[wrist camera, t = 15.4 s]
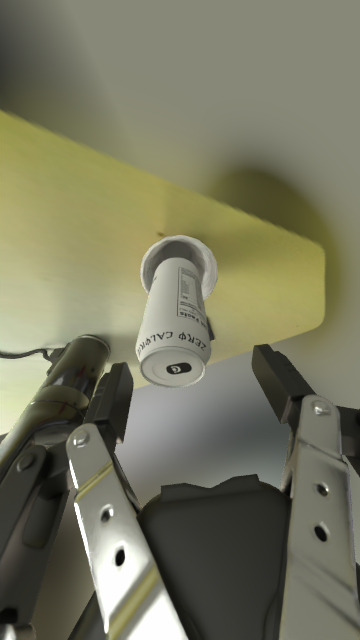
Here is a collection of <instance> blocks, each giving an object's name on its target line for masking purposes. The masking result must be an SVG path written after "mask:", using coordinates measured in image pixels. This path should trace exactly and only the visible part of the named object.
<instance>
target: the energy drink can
mask: <svg viewBox="0 0 360 640" xmlns="http://www.w3.org/2000/svg"><path fill="white" fill-rule="evenodd" d="M136 354H137V357H138V359H139V361H140V368H139V369H140V373H141V374H142V376H143V377H144V378H145V379H146V380H147V381H149V382H150V383H152V384H154V385H157V386H160V387H165V388H183V387H187V386H191V385H193V384H195V383H197V382H198V381H200V380H201V379H202V378H203V376H204V374H205V371H206V366H205V365H206V364H207V362H208V360H209V358H210V355H211V344H210V338H209V332H208V325H207V319H206V313H205V307H204V300H203V294H202V288H201V281H200V275H199V272H198V269H197V268H196V266H195V265H194V264H193V263H192V262H190V261H188V260H186V259H184V258H170V259H167V260H165V261H163V262H162V263H161V264H160V265H159V266H158V267H157V269H156V271H155V274H154V278H153V282H152V286H151V290H150V293H149V297H148V301H147V305H146V309H145V312H144V316H143V320H142V324H141V328H140V332H139V335H138V339H137V343H136Z"/></svg>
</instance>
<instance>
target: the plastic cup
mask: <svg viewBox="0 0 360 640" xmlns="http://www.w3.org/2000/svg"><path fill="white" fill-rule="evenodd" d="M170 258H184V259H186V260H188V261H190V262H192V263H193V264H194V265H195V266H196V268H197V269H198V272H199V275H200V281H201V288H202V294H203V300H205V299H206V298H207V297H208V296H209V295H210V294H211V293H212V292H213V289H214V287H215V284H216V282H217V280H218V264H217V262H216V260H215V258H214V255H213V253H212V251H211V250H210V249H209V248H208V247H207V246H206V245H204V244H203V243H202V242H201V241H200V240H198V239H195V238H191V237H188V236H185V235H178V236H170V237H165V238H163V239H162V240H160V241H158V242H157V243H155V244H154V245H152V246H151V247H150V248H149V250H148V251H147V253H146V254H145V256H144V257H143V259H142V264H141V270H140V277H141V281H142V285H143V288H144V290H145V291H146V292H147V294H148V295H149V293H150V290H151V286H152V282H153V278H154V274H155V271H156V269H157V267H158V266H159V265H160V264H161V263H162V262H163V261H165V260H167V259H170Z"/></svg>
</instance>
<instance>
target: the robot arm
mask: <svg viewBox="0 0 360 640" xmlns="http://www.w3.org/2000/svg"><path fill="white" fill-rule="evenodd" d="M38 352H41V353H43V357H44V358H45V359H46V360H48V361H51V363H52V366H51V367H50V368H49V370H48V371H47V373H46V374H47V376H48V377H47V379H46V380H45V382H44V383H43V384H42V386H41V387H40V389H39V390H38V392H37V393H36V395H35V396H34V397H33V399H32V400H31V402H30V403H29V405H28V406H27V407H26V409H25V410H24V411H23V413H22V414H21V416H20V417H19V419H18V420H17V422H16V423H15V425H14V426H13V427H12V429H11V430H10V432H9V433H8V435H7V436H6V437H5V439H4V440H3V442H2V443H1V444H0V640H36V633H35V629H34V627H33V626H32V624H30V623H31V619H32V616H33V613H34V609H35V606H36V603H37V599H38V596H39V593H40V589H41V586H42V582H43V579H44V576H45V572H46V569H47V566H48V563H49V559H50V556H51V552H52V549H53V546H54V542H55V539H56V536H57V532H58V529H59V526H60V522H61V519H62V516H63V512H64V509H65V505H66V502H67V499H68V495H69V492H70V489H71V488H73V487H75V486H76V490H77V494H76V496H75V498H74V503H75V508H76V512H77V516H78V520H79V524H80V528H81V532H82V537H83V541H84V545H85V549H86V552H87V557H88V561H89V565H90V569H91V573H92V577H93V581H94V585H95V589H96V590H95V591H94V593H93V595H92V597H91V599H90V600H89V602H88V604H87V606H86V607H85V610H84V611H83V613H82V615H81V616H80V618H79V620H78V622H77V624H76V625H75V627H74V629H73V631H72V632H71V634H70V636H69V638H68V640H360V565H359V564H358V563H356V562H355V550H354V534H353V520H352V505H351V490H350V475H349V468H348V465H347V463H346V462H344V461H343V459H342V455H345V456H346V457H347V459H348V460H349V462H350V463H351V465H352V466H353V468H354V469H355V471H356V472H357V474H358V475H359V477H360V409H359V410H358V409H352V408H346V407H340V406H336V405H334V404H333V403H332V402H331V401H329V400H328V399H326V398H324V397H322V396H319V395H317V394H316V393H315V392H314V391H313V390H312V388H311V387H310V386H309V385H308V383H307V382H306V381H305V380H304V378H303V377H302V376H301V375H300V373H299V372H298V371H297V370H296V368H295V367H294V366H293V365H292V363H291V362H290V361H289V360H288V358H287V357H286V356H285V355H283V354H281V353H280V352H279V351H275V352H274V351H273V350H272V348H271V347H270V346H269V345H268V344H262V345H255V346H254V348H253V357H252V369H253V372H254V374H255V376H256V378H257V380H258V382H259V384H260V385H261V387H262V389H263V391H264V393H265V395H266V397H267V399H268V401H269V403H270V405H271V407H272V408H273V410H274V412H275V414H276V416H277V418H278V420H279V422H280V424H285V423H288V424H289V426H290V427H291V431H290V436H289V443H288V449H287V456H286V462H285V467H284V472H283V475H282V479H281V484H280V490H279V489H277V488H276V487H273V486H272V485H270V484H267V483H264V482H261V481H259V478H258V476H257V474H253V475H246V476H237V477H233V478H230V479H228V480H226V481H224V482H222V483H220V484H219V485H217V486H215V487H213V488H205V487H201V486H196V485H191V484H187V483H181V484H173V485H165V486H161V493H160V494H158V495H157V496H156V497H154V498H152V499H151V500H150V501H149V502H148V503H147V504H146V505H145V506H144V507H143V508H142V507H141V505H140V503H139V501H138V499H137V497H136V495H135V493H134V491H133V490H132V488H131V486H130V484H129V482H128V480H127V478H126V476H125V474H124V472H123V470H122V467H121V466H120V463H119V461H118V459H117V457H116V455H115V453H114V451H115V447H116V444H121V443H123V441H124V435H125V430H126V424H127V419H128V413H129V407H130V402H131V397H132V392H133V378H132V375H131V373H130V370H129V367H128V365H127V363H126V362H122V363H114V364H113V365H112V368H111V370H110V373H105V374H104V375H103V377H102V378H101V379H100V377H101V375H102V374H103V371H104V367H105V365H106V362H107V360H108V358H109V355H110V349H109V347H108V345H107V344H106V343H105V342H104V341H103V340H101V339H100V338H97V337H95V336H90V335H83V336H79V337H77V338H75V339H74V340H73V341H72V342H71V343H68V344H67V345H66V346H65V348H58V349H55V350H54V351H53V353H52V354H51V355H50V356H48V355H47V351H46V350H44V349H36V350H33V351H30V352H27V353H24V354H21V355H4V354H0V358H7V359H17V358H22V357H26V356H29V355H31V354H34V353H38ZM98 382H99V383H98ZM96 387H97V388H96ZM93 395H94V397H93ZM91 400H92V401H91ZM89 405H90V406H89ZM87 410H88V411H87ZM86 413H87V414H86ZM84 418H85V419H84ZM46 448H47V449H46Z"/></svg>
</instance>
